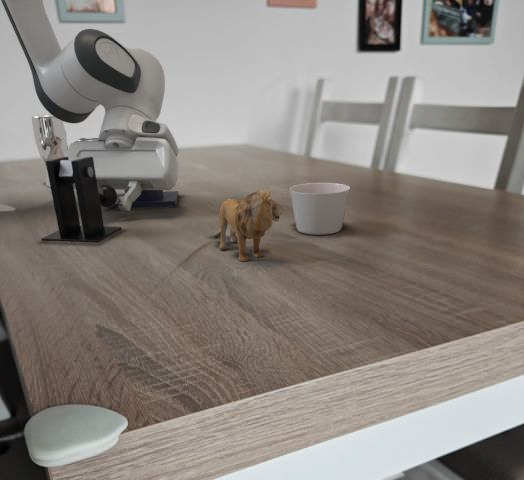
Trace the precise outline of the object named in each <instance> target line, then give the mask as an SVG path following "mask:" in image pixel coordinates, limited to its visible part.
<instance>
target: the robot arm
mask: <svg viewBox="0 0 524 480" xmlns="http://www.w3.org/2000/svg"><path fill="white" fill-rule="evenodd" d="M0 1H1V4H2V6H3V8H4V10H5V13H6V15H7V19H8V20H9V22H10V24H11V27H12V29H13V31H14V33H15V36H16V38H17V40H18V42H19V45H20V47H21V50H22V51H23V53H24V56H25V59H26V60H27V63H28V66H29V68H30V70H31V76H32V80H33V86H34V91H35V93H36V96H37V98H38V100H39V102H40V104H41V106H43V108H44V109H45V110H46V111H47V112H48V113H49V115H53V116H54V117H56V118H58V119H59V120H62V121H64V123H67V124H80V123H82V122H84V121H86V120H87V119H88V118H89V117H90V115H91V114H93V112H94V111H95V110H96V109H97V108H98V107H99V106H102V107H103V108H104V112H105V113H104V116H103V119H102V124H101V127H100V130H99V133H98V137H92V138H86V137H81V138H78V139H77V140H76V141H74V142H71V143H70V144H69V145H68V150H67V152H66V154H65V156H64V157H68V159H69V160H77V159H81V158H85V157H93V161H94V167H95V173H96V180H97V185H98V186H100V185H104V184H106V185H110V186H112V187H113V188H114V189H115V191H117V190H119V191H120V190H121V191H122V190H123V191H125V190H129V191H128V192H127V193H126V194H125V196H120V197H119V202H118V207H119V208H118V209H119V210H120V211H123V212H124V211H125V212H128V211H129V212H130V211H131V209H132V208H131V205H132V203H133V202H134V201H135V200H136V199H137V198H138V197H139V196H140V195H141V191H142V190H163V191H172V189H174V187H175V186H176V185H177V181H178V176H179V166H180V165H179V160H178V155H179V147H178V144H177V141H176V139H175V138H174V135H173V134H172V131H171V130H170V129H169V127H168V126H167V125H166V124H165V123H162V122H159V121H157V120H158V118H159V117H160V114H161V112H162V107H163V103H164V98H165V92H166V91H165V90H166V78H165V77H166V76H165V72H164V69H163V66H162V64H161V62H160V61H159V59H158V58H156V57H155V56H154V54H152V53H150V52H149V51H147V50H145V49H141V48H128V47H126V46H124V45H122V44H121V43H120V42H119V41H117V40H116V39H115V38H114V37H112V36H111V35H109V34H108V33H106V32H104V31H102V30H99V29H95V28H94V29H93V28H85V29H83V30H82V29H81V31H79V32H78V33H77V34H76V35H75V36H74V37H73V38H72V39H71V40H70V41H69V42H68V43H66V45H64V47H63V49H62V48H61V45H60V43H59V41H58V38H57V35H56V34H55V31H54V29H53V27H52V24H51V21H50V19H49V17H48V14H47V11H46V9H45V4H44V0H0ZM73 187H74V190H76V187H75V184H73Z"/></svg>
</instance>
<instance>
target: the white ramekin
mask: <svg viewBox="0 0 524 480" xmlns="http://www.w3.org/2000/svg"><path fill="white" fill-rule="evenodd" d="M350 192H351V186H349V185H347V184H344V183H343V184H342V183H335V182H307V183H301V184H295V185H292V186H290V187H289V194H290V200H291V205H292V210H293V211H292V212H293V217H294V222H295V227H296V230H297V232H299V233H302V234H305V235H312V236H313V235H314V236H324V235H332V234H333V235H334V234H336V233H339V232H340V231H341V230H342V228H343V225H344V224H343V223H344V219H345V214H346V211H347V205H348V201H349V196H350Z"/></svg>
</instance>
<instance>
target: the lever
mask: <svg viewBox="0 0 524 480" xmlns="http://www.w3.org/2000/svg"><path fill="white" fill-rule="evenodd" d="M71 161H74V160H61V162H60V170H59V177H61V178H62V179H64V180H65V181H67V182H68V183H71V184H75V181H74V175H73V169H72V164H71ZM97 186H98V185H97ZM98 192H99V199H100V205H101V208H105V209H106V208H109V207H111V206H113V205H114V204H115V203H116V201H117V194H118V192H117V190H116V189H114V188H113V187H112V186H110V185H106V184H104V185H100V186H98Z"/></svg>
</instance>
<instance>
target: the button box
mask: <svg viewBox="0 0 524 480" xmlns="http://www.w3.org/2000/svg"><path fill="white" fill-rule="evenodd" d="M128 191H129V190H124V193H123V192H122V193H117V201H116V203H115V204H114V205H113V206H111V207H108V209H109V210H112V209H113V210H114V209H120V208H119V207H118V202H119V197H120V196H125V194H126V193H127V192H128ZM179 195H180V193H179V191H178V190H166V191H164V190H142V191H141V195H140V196H139V197H138V198H137V199H136V200H135V201H134V202H133V203H132V205H131V209H135V208H153V207H154V208H155V207H156V208H157V207H177V203H178V199H179Z"/></svg>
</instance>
